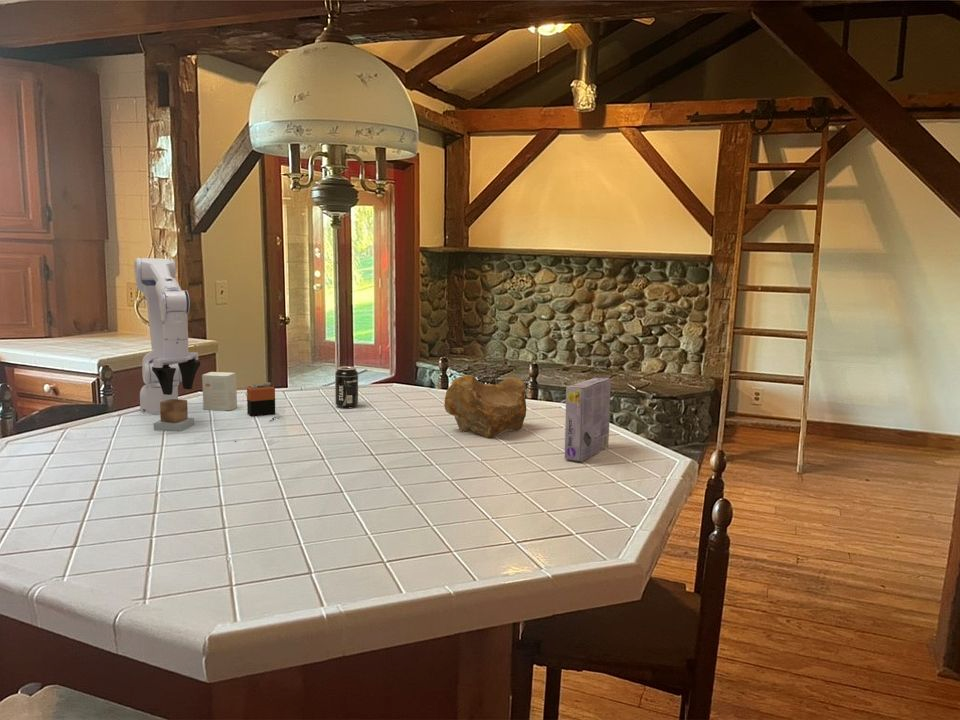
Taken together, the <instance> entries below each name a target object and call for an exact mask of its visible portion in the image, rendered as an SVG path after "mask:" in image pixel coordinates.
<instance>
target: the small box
mask: <svg viewBox="0 0 960 720" xmlns="http://www.w3.org/2000/svg"><path fill="white" fill-rule="evenodd" d="M201 381H202V382H201V383H202V404H203V410H204V409H214V410H213V411H221V410H230V411H231V409H232V410H233V409H235V408H237V407H238V395H237V393H238V392H237V373H236V372H229V371H227V372H225V371H224V372H223V371H221V372H220V371H210V372H207V373H204V374H202V375H201Z"/></svg>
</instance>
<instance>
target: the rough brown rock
mask: <svg viewBox="0 0 960 720" xmlns="http://www.w3.org/2000/svg"><path fill="white" fill-rule="evenodd" d="M444 409H445V410H444V411H445V412H446V413H448V414H449V415H451V416H454V419H455V421H456V423H457V426H458V428H459V430H461V431H462V432H469V431H472V433H478V434H480V435H481V436H483V437H484V438H486V439H490V438H492V437H496V436H499V435H500V434H503V433H504V432H507V431H510V430H512V431H519V430H521V428H523V425H524V421H525V419H526V416H527V402H526V384H525V382H524V380H523V379H521V378H520V377H517V376H508V377H506V378H505V379H504V380H502V381H500V382H499V383H496V384H492V383H483V382H480V381H479V380H478V379H477V378H476V376H475V375H473V374H465V375H463V376H461V377H458V378H456V379H455V380H453V381H452V383H451V384H450V385H449V386H448V388H447V389H446V391H445V396H444Z"/></svg>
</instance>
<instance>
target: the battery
mask: <svg viewBox="0 0 960 720" xmlns="http://www.w3.org/2000/svg"><path fill="white" fill-rule="evenodd" d="M246 402H247V403H246V405H247V407H246V409H247V416H249V417H251V418H253V417H255V418H256V417H262V416H266V417H267V416H274V415H275V416H274V417H272V418H271V420H274V418H275V419H276V388H275V387H274V386H273V385H271V382H262V384H261V385H258V384H257V383H252V384H251V386H247V387H246Z"/></svg>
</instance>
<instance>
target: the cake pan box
mask: <svg viewBox="0 0 960 720" xmlns="http://www.w3.org/2000/svg"><path fill="white" fill-rule="evenodd" d="M611 384H612V380H611V378H610V377H593V378H591V379H587V380H584V381H579V382H577V383H574V384H571V385H567V386H566V388H565V389H566V390H565V423H564V424H565V428H564V429H565V431H564V459H565V460H568V461H572V462H576V463H583V462H584V461H585V460H588V459H589V458H591V457H593V456H595V455H598V453H600V452H601V451H603V450H605V449H606V448H608V447H609V441H610V439H609V438H610V409H611V408H610V407H611Z"/></svg>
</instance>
